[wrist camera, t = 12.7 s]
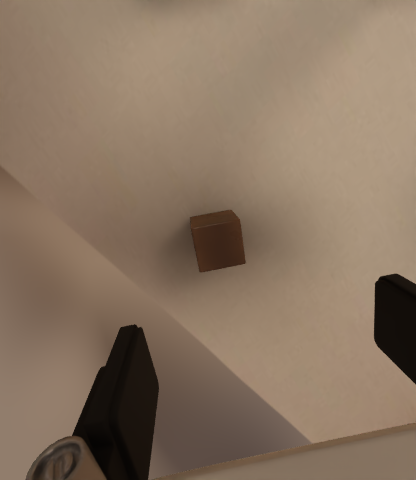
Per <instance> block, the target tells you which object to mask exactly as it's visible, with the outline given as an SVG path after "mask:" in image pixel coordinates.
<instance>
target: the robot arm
mask: <svg viewBox="0 0 416 480" xmlns="http://www.w3.org/2000/svg"><path fill="white" fill-rule="evenodd" d="M374 340H375V342H376V344H377V346H378V347H379V348H380V349H381V350H382V351H383V352H384V353H385V354H386V355H387V356H388V357H389V358H390V359H391V360H392V361H393V362H394V363H395V364H396V365H397V366H398V367H399V368H400V369H401V370H402V371H403V372H404V373H405V374H406V375H407V376H408V377H409V378H410V379H411V380H412V381H413V382H414V383H415V384H416V284H415V283H413V282H411V281H409V280H408V279H406V278H404V277H402V276H400V275H398V274H391V275H386V276H381V277H380V278H379V279H378V281H377V282H376V283H375V314H374ZM158 392H159V385H158V379H157V376H156V373H155V369H154V366H153V363H152V359H151V356H150V352H149V349H148V345H147V342H146V339H145V336H144V332H143V329H142V328H141V327H139V328H138V327H137V325H135V324H134V325H129V326H125V327H121V328H120V330H119V332H118V335H117V337H116V340H115V343H114V345H113V348H112V350H111V353H110V356H109V358H108V361H107V363H106V366H104V367H101V368H100V370H99V372H98V374H97V376H96V378H95V381H94V384H93V386H92V389H91V391H90V393H89V396H88V398H87V400H86V403H85V405H84V408H83V410H82V413H81V415H80V418H79V420H78V423H77V425H76V427H75V430H74V432H73V435H72V436H69V437H65V438H63V439H60V440H58V441H56V442H55V443H53V444H51V445H50V446H49V447H47V449H45V450H44V451H43V452H42V453H41V454H40V455H39V456H38V457H37V459H36V460H35V461H34V462H33V464H32V466H31V468H30V469H29V471H28V473H27V476H26V480H148V475H149V467H150V459H151V451H152V442H153V434H154V425H155V417H156V409H157V400H158ZM153 480H416V423H412V424H407V425H402V426H397V427H392V428H387V429H382V430H377V431H372V432H367V433H362V434H357V435H353V436H348V437H343V438H338V439H333V440H328V441H324V442H319V443H314V444H309V445H305V446H299V447H295V448H290V449H285V450H280V451H276V452H271V453H267V454H262V455H257V456H252V457H247V458H243V459H238V460H233V461H229V462H224V463H220V464H215V465H210V466H206V467H202V468H198V469H193V470H189V471H184V472H180V473H176V474H172V475H167V476H163V477H159V478H156V479H153Z"/></svg>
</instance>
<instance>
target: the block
mask: <svg viewBox="0 0 416 480" xmlns="http://www.w3.org/2000/svg"><path fill="white" fill-rule="evenodd" d="M190 223H191V231H192V236H193V241H194V246H195V251H196V256H197V261H198V266H199V271H200V272H206V271H211V270H216V269H221V268H226V267H232V266H237V265H242V264H245V263H246V261H245V254H244V247H243V239H242V232H241V225H240V219H239V218H238V217H237V216H236V215H235V213H234V212H233V211H232V210H226V211H221V212H216V213H210V214H205V215H200V216H194V217H190Z"/></svg>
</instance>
